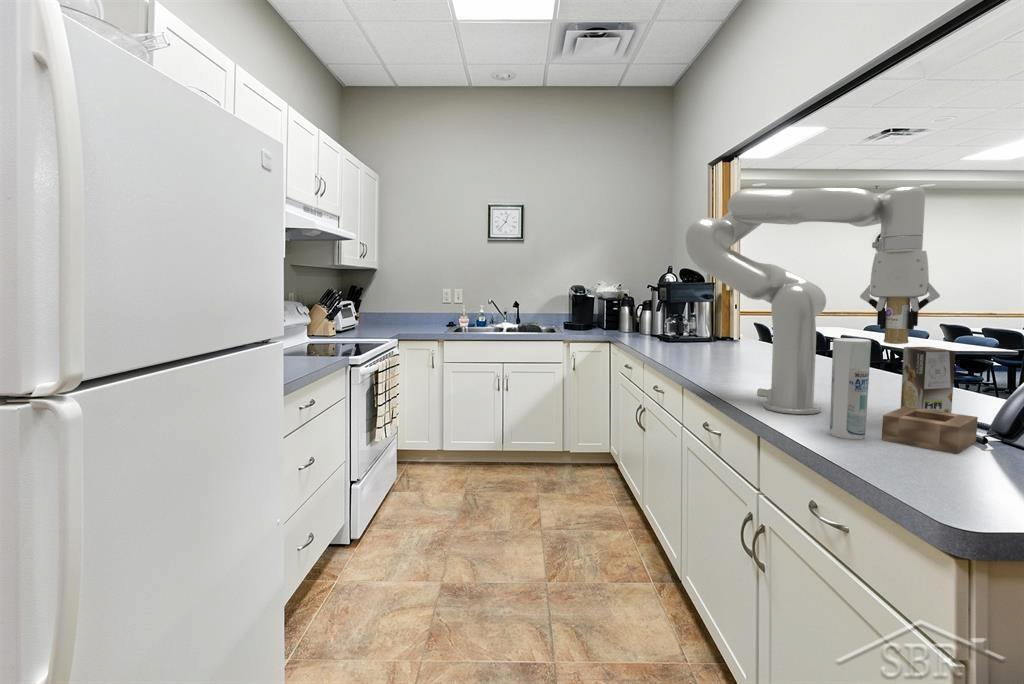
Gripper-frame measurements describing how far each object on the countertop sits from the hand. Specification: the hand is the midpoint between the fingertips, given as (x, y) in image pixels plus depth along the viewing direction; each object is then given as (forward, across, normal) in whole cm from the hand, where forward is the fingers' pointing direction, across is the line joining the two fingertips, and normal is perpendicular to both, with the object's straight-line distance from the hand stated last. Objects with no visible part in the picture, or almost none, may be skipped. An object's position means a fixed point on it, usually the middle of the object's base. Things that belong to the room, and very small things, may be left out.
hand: (896, 328), depth 117 cm
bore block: (+21, +7, -12) cm, 26 cm away
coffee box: (+22, +5, +12) cm, 25 cm away
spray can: (+22, -6, -18) cm, 29 cm away
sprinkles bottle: (+4, 0, 0) cm, 4 cm away
